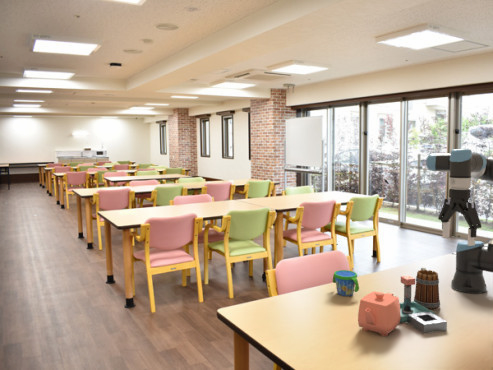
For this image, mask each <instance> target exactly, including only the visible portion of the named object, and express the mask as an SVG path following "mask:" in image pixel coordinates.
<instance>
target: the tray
mask: <svg viewBox="0 0 493 370" xmlns="http://www.w3.org/2000/svg"><path fill="white" fill-rule="evenodd" d="M399 304H400V323H399V324H403V323H407V315H406V314H403V313H402V309H403V308H404V301H403V302H399ZM411 310H413V313H421V312H431V313H433V314H434V315H436V314H435V312H434V310H429V309H427V308H426V307H424V306H422V305H420V304H418V303H417V302H415V301H414V300H413V301H412V300H411Z"/></svg>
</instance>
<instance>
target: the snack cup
mask: <svg viewBox="0 0 493 370" xmlns="http://www.w3.org/2000/svg"><path fill="white" fill-rule="evenodd" d="M332 283H334V284H335V286H336V292H337V294H338V295H340V296H343V297H351V296H353V295H354V293H357V292H359V290H360V286H359V281H358V273H356V272H355V271H352V270H348V269H342V270H336V271H334V273H333V277H332Z"/></svg>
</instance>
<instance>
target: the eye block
mask: <svg viewBox="0 0 493 370" xmlns="http://www.w3.org/2000/svg"><path fill="white" fill-rule="evenodd" d="M406 323H407V324H408V325H410V326H411V327H413V328H414V329H416V330H417V331H419V332H420V333H421V334H423V335H424V334H425V335H426V334H432V333H437V332H438V333H439V332H444V331H447V329H448V321H447V320H445V319H443V318H441V317H440V316H438V315H437V314H433V313H431V312H421V313H413V314H407V322H406Z"/></svg>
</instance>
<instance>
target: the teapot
mask: <svg viewBox="0 0 493 370" xmlns="http://www.w3.org/2000/svg"><path fill="white" fill-rule="evenodd" d="M399 299H400V298H399V297H398V296H397V295H396V296H395V295H394V293H390V292H386V293H384V292H380V291H371V292H370V293H368V294H366V295H365V296H363V297H362V298H361V299H360V301H359V306H358V313H357V322H358V327H360V328H362V330H363V331H365V332H370V331H372V332H376V333H379V335H380V336H381V337H388V336H389V333H391V332H392V331H395V330H396V329H397V327H398V326H399V324H401V323H400V304H399V303H400V300H399Z"/></svg>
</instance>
